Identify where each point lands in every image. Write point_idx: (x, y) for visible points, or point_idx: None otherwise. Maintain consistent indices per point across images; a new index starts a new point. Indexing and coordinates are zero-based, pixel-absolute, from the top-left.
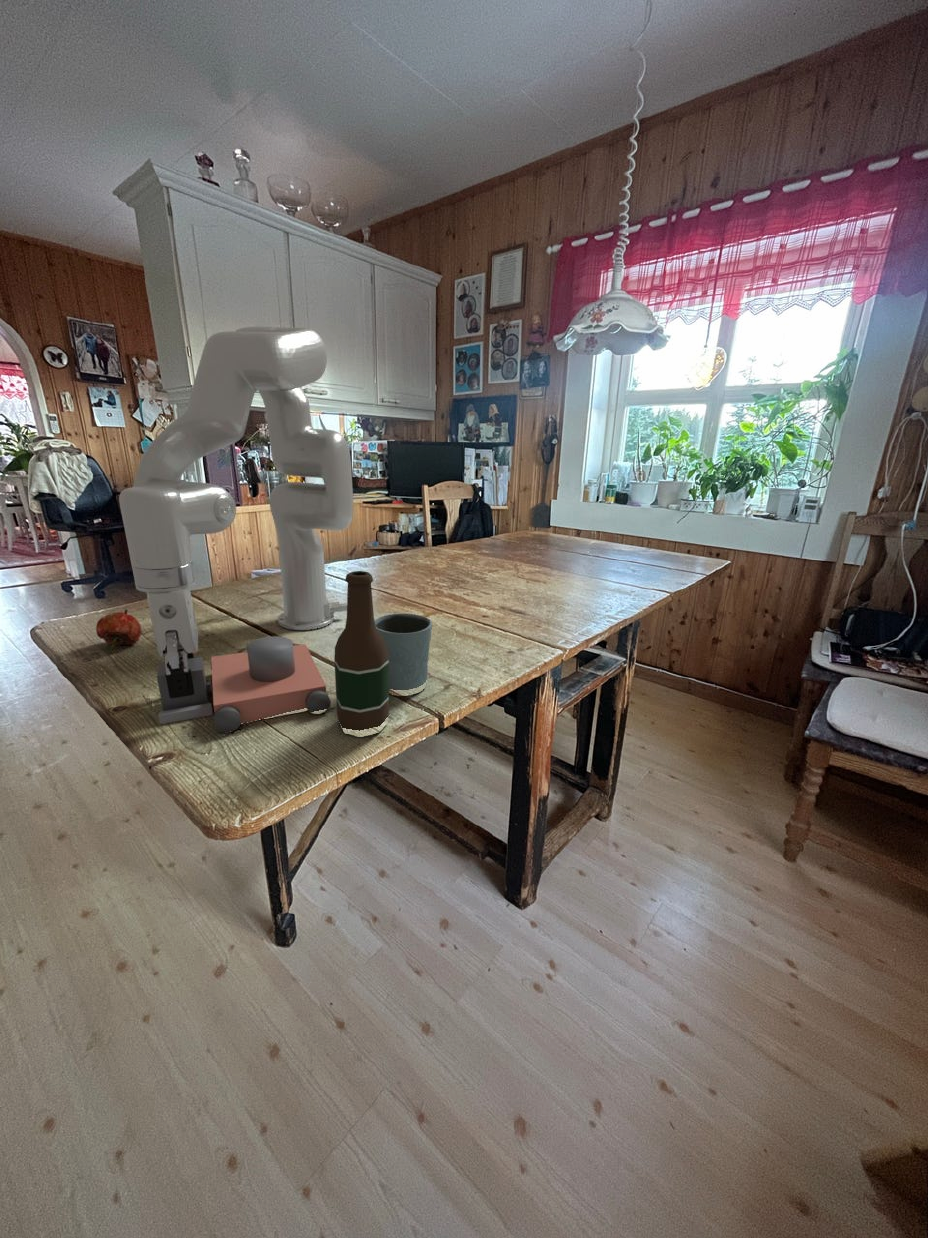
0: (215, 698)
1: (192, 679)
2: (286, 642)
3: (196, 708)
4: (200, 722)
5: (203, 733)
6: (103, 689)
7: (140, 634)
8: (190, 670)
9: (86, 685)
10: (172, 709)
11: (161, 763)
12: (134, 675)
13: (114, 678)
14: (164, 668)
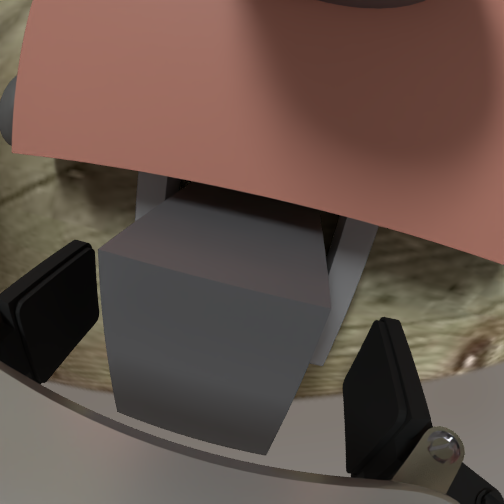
0: (474, 245)
1: (402, 366)
2: None
3: (358, 269)
4: (392, 255)
5: (457, 264)
6: (72, 372)
7: None
8: (428, 420)
9: (53, 381)
10: None
11: (486, 359)
12: None
13: None
14: (188, 422)
